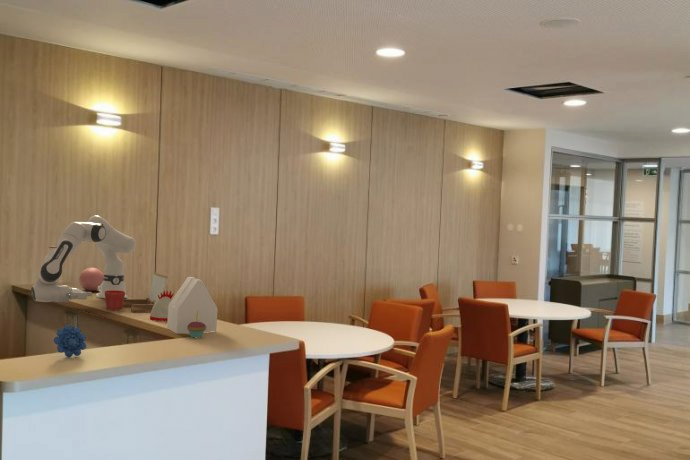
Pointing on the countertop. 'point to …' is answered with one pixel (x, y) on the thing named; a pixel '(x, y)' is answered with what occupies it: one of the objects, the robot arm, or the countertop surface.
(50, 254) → the fruit juice
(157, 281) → the frame lid
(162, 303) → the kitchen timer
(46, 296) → the robot arm
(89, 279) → the pink egg shape
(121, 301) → the flower pot
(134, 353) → the countertop surface
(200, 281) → the white house-shaped block
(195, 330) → the cupcake
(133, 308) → the cold frame
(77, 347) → the blue flower
